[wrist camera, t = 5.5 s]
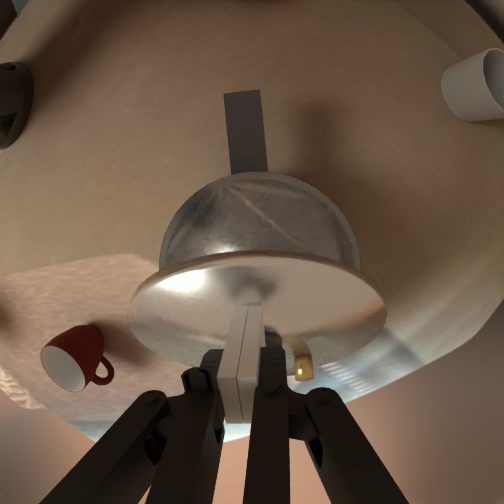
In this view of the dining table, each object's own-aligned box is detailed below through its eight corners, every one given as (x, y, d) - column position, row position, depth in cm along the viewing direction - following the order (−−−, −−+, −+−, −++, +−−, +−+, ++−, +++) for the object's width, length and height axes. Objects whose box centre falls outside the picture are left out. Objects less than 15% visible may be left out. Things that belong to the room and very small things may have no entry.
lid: (81, 261, 16) (66, 307, 15) (417, 235, 15) (436, 285, 13) (181, 368, 32) (179, 395, 30) (354, 359, 31) (358, 386, 29)
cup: (453, 127, 32) (498, 122, 23) (431, 70, 30) (470, 51, 21) (492, 115, 31) (536, 110, 21) (471, 63, 29) (512, 47, 19)
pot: (170, 120, 35) (137, 108, 25) (329, 104, 33) (349, 84, 23) (199, 330, 42) (181, 372, 32) (339, 321, 40) (355, 363, 31)
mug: (134, 343, 44) (107, 381, 34) (118, 373, 46) (93, 411, 36) (80, 303, 42) (44, 334, 33) (68, 337, 45) (37, 368, 35)
